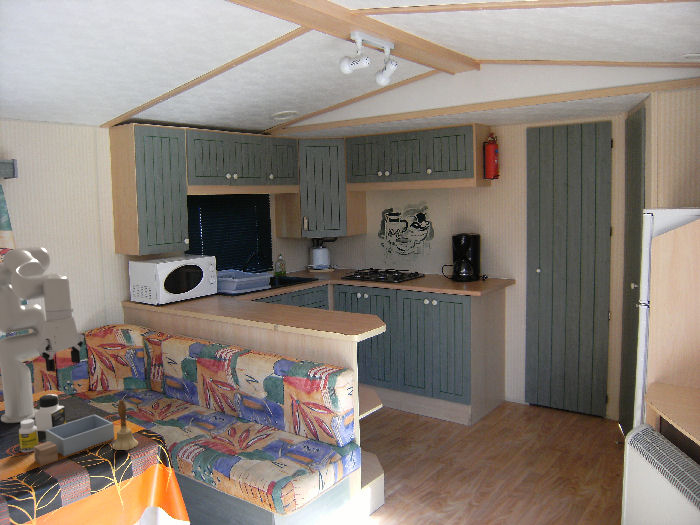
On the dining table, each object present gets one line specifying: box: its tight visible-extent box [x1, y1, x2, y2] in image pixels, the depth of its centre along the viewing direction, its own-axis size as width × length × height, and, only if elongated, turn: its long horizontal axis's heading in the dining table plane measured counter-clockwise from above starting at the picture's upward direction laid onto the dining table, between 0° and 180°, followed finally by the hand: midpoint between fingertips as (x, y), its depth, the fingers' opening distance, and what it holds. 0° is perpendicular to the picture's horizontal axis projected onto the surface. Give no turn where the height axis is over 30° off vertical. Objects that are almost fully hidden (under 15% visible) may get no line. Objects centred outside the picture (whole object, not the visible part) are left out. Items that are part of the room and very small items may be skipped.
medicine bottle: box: [34, 393, 67, 432], centre depth 215 cm, size 7×7×12 cm
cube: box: [33, 441, 59, 466], centre depth 190 cm, size 5×5×5 cm
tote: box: [44, 413, 115, 457], centre depth 203 cm, size 13×17×6 cm
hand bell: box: [111, 399, 139, 451], centre depth 199 cm, size 8×8×16 cm
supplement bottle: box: [18, 418, 39, 453], centre depth 198 cm, size 5×5×10 cm
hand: (63, 366), depth 192 cm, fingers open, 9 cm apart
